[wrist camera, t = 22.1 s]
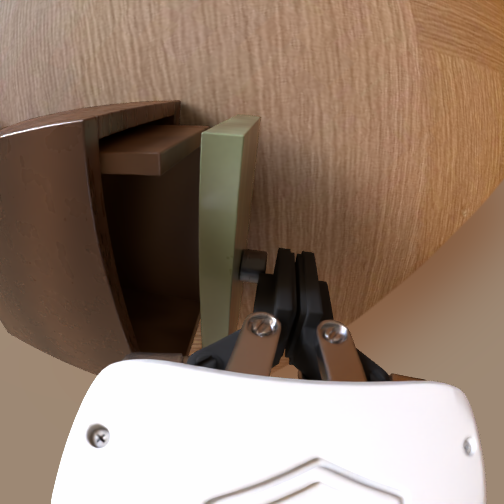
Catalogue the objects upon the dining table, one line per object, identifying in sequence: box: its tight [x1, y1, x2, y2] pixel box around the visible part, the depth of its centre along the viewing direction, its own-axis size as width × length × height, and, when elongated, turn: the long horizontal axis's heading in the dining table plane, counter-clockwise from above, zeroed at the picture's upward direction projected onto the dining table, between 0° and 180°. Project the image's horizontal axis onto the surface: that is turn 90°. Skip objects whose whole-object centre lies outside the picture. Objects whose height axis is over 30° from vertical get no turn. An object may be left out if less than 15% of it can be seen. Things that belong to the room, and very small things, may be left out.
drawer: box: [98, 114, 268, 356], centre depth 14 cm, size 14×13×7 cm
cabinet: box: [0, 100, 181, 375], centre depth 14 cm, size 14×15×9 cm
